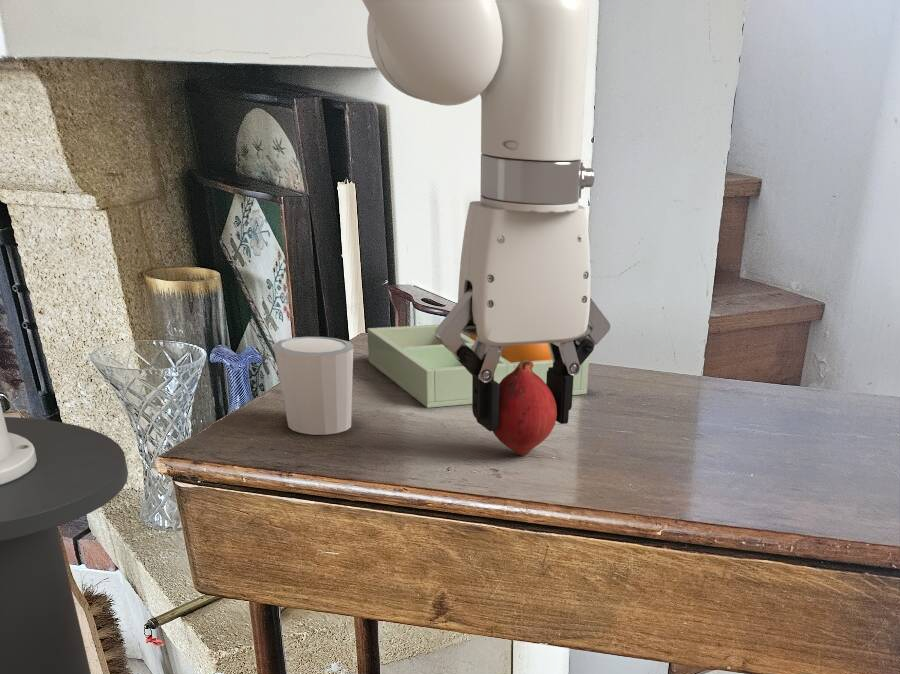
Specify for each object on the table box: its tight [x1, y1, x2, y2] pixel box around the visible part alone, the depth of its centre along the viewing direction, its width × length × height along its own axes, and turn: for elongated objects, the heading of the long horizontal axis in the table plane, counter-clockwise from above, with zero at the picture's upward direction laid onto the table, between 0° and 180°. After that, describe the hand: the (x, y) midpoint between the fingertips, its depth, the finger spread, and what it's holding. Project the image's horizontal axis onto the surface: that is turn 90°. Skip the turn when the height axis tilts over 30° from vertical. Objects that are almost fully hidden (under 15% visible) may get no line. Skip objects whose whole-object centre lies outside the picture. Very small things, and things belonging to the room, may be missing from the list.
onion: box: [492, 359, 557, 456], centre depth 88 cm, size 6×6×8 cm
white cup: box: [273, 336, 354, 436], centre depth 92 cm, size 7×7×7 cm
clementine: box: [502, 343, 552, 363], centre depth 107 cm, size 6×6×6 cm
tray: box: [366, 324, 590, 409], centre depth 109 cm, size 18×18×4 cm
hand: (522, 420), depth 88 cm, fingers closed on onion, 5 cm apart
